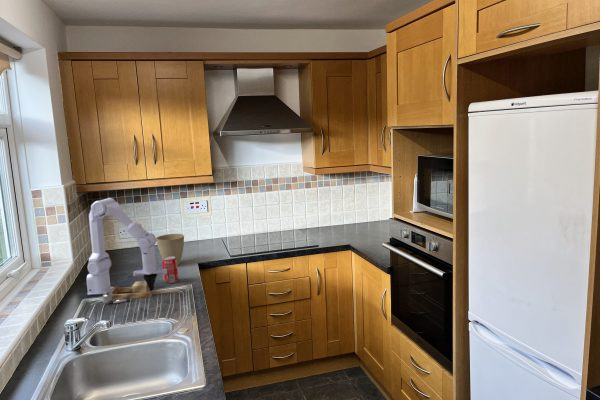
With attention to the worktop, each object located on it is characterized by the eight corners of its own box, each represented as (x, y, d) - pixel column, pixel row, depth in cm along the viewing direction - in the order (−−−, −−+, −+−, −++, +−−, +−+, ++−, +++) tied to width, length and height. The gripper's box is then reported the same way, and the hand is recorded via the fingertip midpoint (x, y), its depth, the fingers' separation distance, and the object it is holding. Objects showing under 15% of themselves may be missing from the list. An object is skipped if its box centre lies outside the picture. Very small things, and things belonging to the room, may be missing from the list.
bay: (109, 299, 200) (108, 293, 200) (116, 291, 210) (115, 285, 210) (151, 297, 202) (150, 290, 201) (156, 289, 212) (155, 283, 211)
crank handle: (113, 304, 195) (112, 298, 195) (113, 303, 196) (112, 297, 196) (129, 301, 198) (129, 296, 197) (129, 300, 199) (129, 295, 199)
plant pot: (188, 260, 258) (186, 232, 255) (183, 268, 243) (181, 239, 240) (161, 261, 257) (159, 234, 254) (155, 269, 242) (152, 240, 239)
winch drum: (102, 304, 195) (101, 293, 194) (105, 300, 199) (104, 290, 198) (111, 303, 196) (110, 293, 195) (114, 300, 200) (113, 289, 199)
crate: (132, 296, 203) (131, 286, 202) (136, 291, 209) (135, 281, 208) (146, 295, 203) (145, 285, 203) (150, 291, 209) (149, 280, 209)
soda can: (172, 278, 227) (171, 255, 225) (181, 280, 222) (179, 257, 220) (160, 282, 221) (158, 258, 220) (169, 284, 217) (167, 260, 215)
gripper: (130, 264, 200) (133, 294, 202) (163, 262, 201) (166, 291, 203) (134, 260, 207) (137, 288, 209) (166, 258, 208) (169, 286, 210)
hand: (151, 289), depth 206 cm, fingers closed
